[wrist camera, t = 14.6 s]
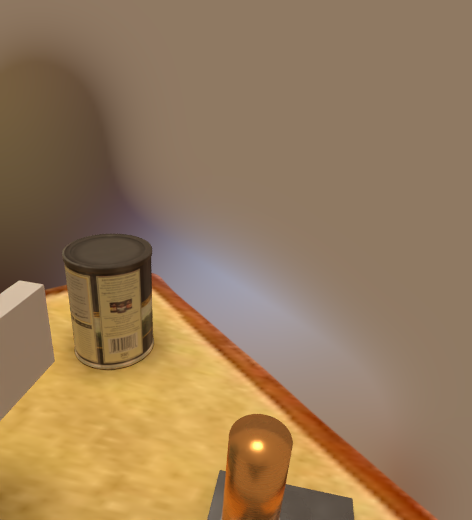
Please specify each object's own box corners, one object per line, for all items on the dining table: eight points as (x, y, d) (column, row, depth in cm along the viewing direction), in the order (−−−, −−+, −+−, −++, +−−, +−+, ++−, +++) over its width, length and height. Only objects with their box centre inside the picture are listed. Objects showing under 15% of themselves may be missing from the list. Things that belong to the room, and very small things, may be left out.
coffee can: (119, 315, 62) (114, 227, 56) (169, 342, 57) (169, 248, 51) (56, 347, 54) (43, 248, 48) (108, 382, 49) (100, 276, 43)
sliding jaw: (210, 578, 30) (219, 457, 24) (222, 524, 33) (232, 408, 28) (333, 609, 28) (370, 489, 23) (331, 549, 32) (363, 433, 27)
